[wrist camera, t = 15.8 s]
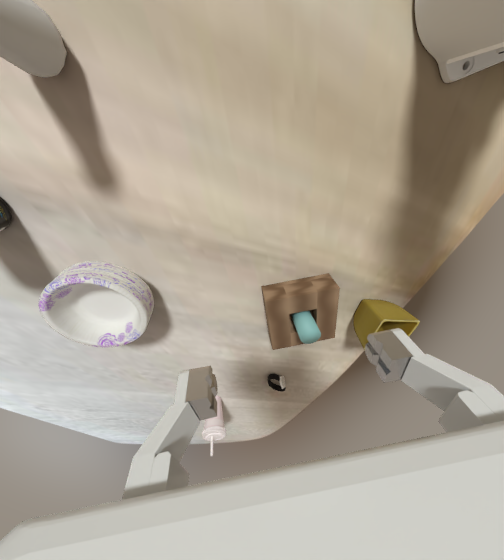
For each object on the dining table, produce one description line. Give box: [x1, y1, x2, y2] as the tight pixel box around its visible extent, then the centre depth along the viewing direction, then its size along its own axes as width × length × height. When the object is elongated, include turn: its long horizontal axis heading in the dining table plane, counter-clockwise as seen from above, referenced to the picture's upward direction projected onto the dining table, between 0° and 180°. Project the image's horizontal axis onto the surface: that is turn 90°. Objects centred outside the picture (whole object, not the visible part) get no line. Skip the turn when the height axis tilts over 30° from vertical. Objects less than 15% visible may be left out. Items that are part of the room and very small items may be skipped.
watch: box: [268, 374, 285, 391], centre depth 63 cm, size 8×5×4 cm, turn 27°
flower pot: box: [354, 299, 420, 350], centre depth 48 cm, size 9×9×9 cm
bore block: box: [261, 273, 340, 350], centre depth 47 cm, size 14×14×5 cm
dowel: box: [290, 310, 321, 344], centre depth 45 cm, size 4×4×8 cm
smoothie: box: [202, 396, 226, 457], centre depth 60 cm, size 6×6×14 cm
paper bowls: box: [39, 261, 154, 347], centre depth 38 cm, size 15×15×8 cm
